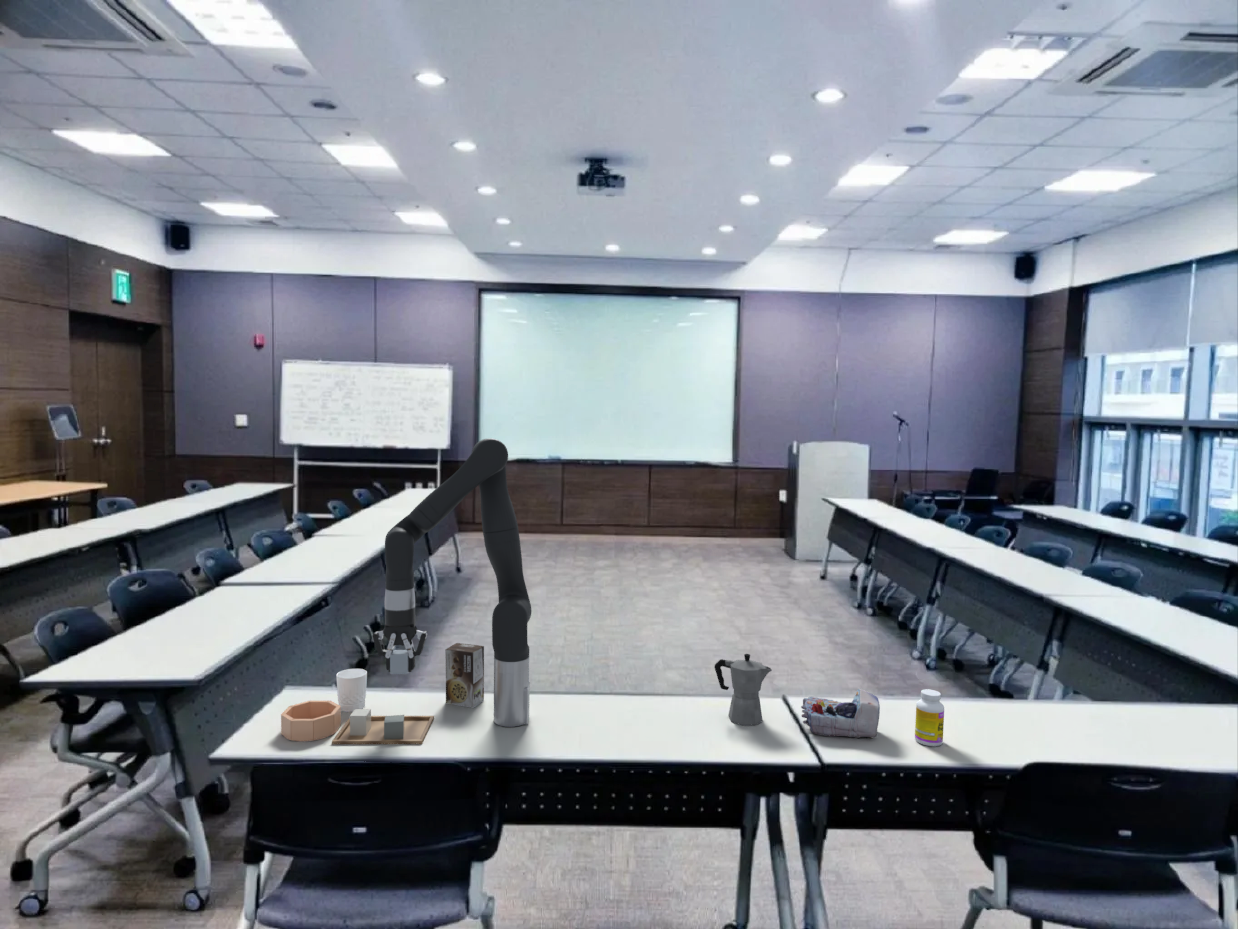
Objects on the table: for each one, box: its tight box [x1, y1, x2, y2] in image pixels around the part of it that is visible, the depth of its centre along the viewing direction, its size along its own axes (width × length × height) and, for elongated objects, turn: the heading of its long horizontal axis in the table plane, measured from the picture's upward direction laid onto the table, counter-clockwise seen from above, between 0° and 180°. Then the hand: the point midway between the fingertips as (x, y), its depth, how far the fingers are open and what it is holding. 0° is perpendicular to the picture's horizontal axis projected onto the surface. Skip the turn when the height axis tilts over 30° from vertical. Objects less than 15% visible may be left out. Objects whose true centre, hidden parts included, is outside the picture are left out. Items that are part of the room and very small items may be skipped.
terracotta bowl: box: [280, 700, 342, 742], centre depth 193 cm, size 13×13×6 cm
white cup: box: [336, 668, 368, 713], centre depth 209 cm, size 8×8×10 cm
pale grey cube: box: [349, 708, 372, 735], centre depth 193 cm, size 4×4×5 cm
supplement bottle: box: [914, 688, 945, 747], centre depth 195 cm, size 7×7×13 cm
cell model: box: [800, 688, 881, 739], centre depth 201 cm, size 13×11×20 cm
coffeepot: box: [714, 653, 772, 727], centre depth 207 cm, size 15×9×18 cm, turn 70°
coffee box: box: [444, 642, 485, 708], centre depth 214 cm, size 9×6×16 cm
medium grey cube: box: [384, 714, 405, 740], centre depth 191 cm, size 5×4×4 cm
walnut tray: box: [331, 715, 435, 746], centre depth 194 cm, size 22×16×1 cm
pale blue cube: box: [389, 649, 410, 675], centre depth 196 cm, size 4×4×5 cm
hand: (400, 670), depth 196 cm, fingers closed on pale blue cube, 4 cm apart
